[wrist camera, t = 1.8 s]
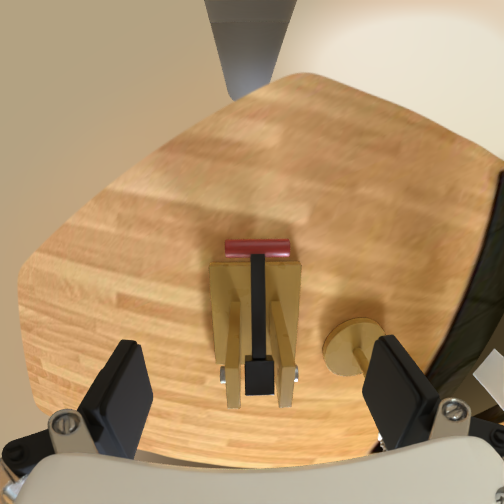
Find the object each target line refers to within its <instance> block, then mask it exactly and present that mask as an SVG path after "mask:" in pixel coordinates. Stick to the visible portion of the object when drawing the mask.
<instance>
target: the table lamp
mask: <svg viewBox="0 0 504 504" xmlns="http://www.w3.org/2000/svg"><path fill="white" fill-rule="evenodd" d="M385 335H386V334H385V332H384V330H383V329H382V327H381V326H380V325H379V324H378V323H377V322H376V321H374V320H372V319H369V318H354V319H351V320H348V321H346V322H344V323H342V324H340V325H339V326H337V327H336V328H335V329H334V330H333V331H332V332H331V333H330V334H329V336H328V337H327V339H326V341H325V343H324V346H323V357H324V360H325V363H326V365H327V367H328V369H329V370H330V371H331V372H333V373H334V374H337V375H340V376H355V375H358V374H361V373H363V375H364V377H366V374H367V370H368V366H369V362H370V359H371V355H372V350H373V346H374V342H375V341H376V340H378V338H379V337H380V336H385Z"/></svg>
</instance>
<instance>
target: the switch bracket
mask: <svg viewBox="0 0 504 504" xmlns="http://www.w3.org/2000/svg"><path fill="white" fill-rule="evenodd" d="M301 268H302V265H301V263H300V262H299V261H286V262H265V287H266V355H272V357H273V359H274V374H275V382H276V389H277V397H278V404H279V408H284V407H291V406H292V398H293V389H294V382H297V381H298V367H297V365H295V352H296V341H297V328H298V315H299V301H300V285H301ZM209 278H210V294H211V309H212V323H213V335H214V347H215V359H216V364H225V366H221V368H220V382H221V383H226V394H227V406H228V409H240V406H241V364H245V355H252V340H251V266H250V262H210V265H209Z"/></svg>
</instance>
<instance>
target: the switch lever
mask: <svg viewBox="0 0 504 504" xmlns="http://www.w3.org/2000/svg"><path fill="white" fill-rule="evenodd" d="M289 256H290V240H289V239H226V240H225V257H226V258H250V266H251V340H252V355H245V395H246V396H254V395H274V359H273V357H272V355H266V287H265V257H289Z"/></svg>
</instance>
